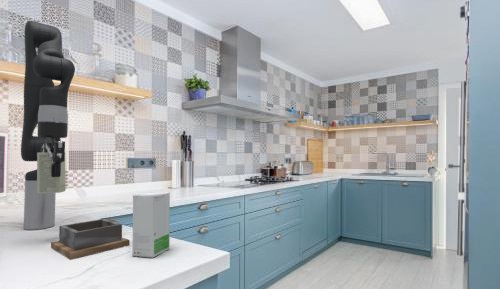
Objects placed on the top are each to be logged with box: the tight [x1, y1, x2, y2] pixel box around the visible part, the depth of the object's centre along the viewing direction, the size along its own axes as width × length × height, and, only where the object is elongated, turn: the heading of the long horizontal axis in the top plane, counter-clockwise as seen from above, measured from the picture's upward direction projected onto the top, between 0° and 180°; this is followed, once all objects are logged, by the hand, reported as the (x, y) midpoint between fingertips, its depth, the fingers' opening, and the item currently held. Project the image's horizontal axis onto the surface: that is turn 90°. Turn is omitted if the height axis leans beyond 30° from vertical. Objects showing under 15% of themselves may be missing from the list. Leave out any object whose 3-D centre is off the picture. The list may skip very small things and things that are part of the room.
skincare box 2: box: [131, 191, 171, 259], centre depth 76 cm, size 8×7×16 cm
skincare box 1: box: [36, 152, 66, 194], centre depth 87 cm, size 6×4×12 cm
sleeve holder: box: [50, 218, 130, 260], centre depth 81 cm, size 15×15×6 cm
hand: (51, 176), depth 87 cm, fingers closed on skincare box 1, 7 cm apart
